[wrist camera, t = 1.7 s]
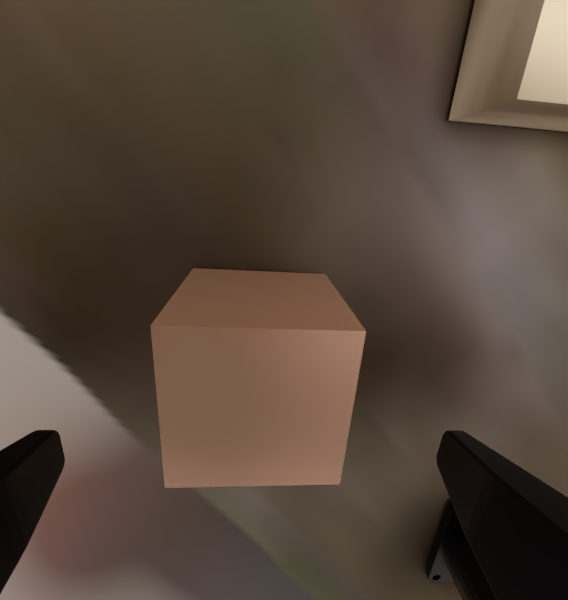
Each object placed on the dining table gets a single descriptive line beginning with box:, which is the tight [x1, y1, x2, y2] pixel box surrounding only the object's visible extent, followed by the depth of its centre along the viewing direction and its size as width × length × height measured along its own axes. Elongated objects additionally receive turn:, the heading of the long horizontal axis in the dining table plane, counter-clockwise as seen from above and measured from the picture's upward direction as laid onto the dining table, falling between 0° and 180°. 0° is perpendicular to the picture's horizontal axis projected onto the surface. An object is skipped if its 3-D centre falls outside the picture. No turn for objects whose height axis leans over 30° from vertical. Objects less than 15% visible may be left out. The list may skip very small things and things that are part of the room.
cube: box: [150, 268, 366, 488], centre depth 11 cm, size 5×5×5 cm
